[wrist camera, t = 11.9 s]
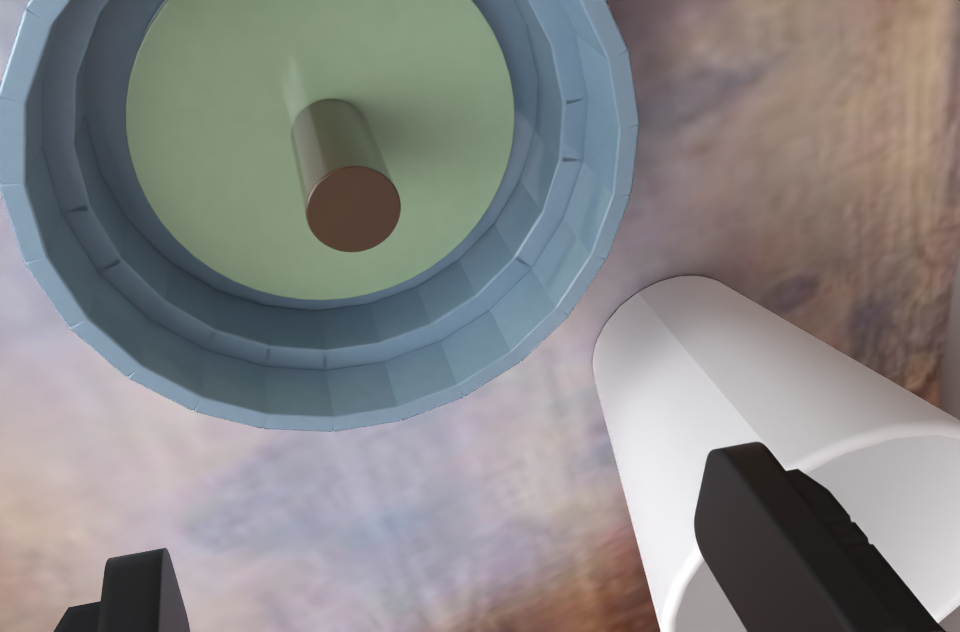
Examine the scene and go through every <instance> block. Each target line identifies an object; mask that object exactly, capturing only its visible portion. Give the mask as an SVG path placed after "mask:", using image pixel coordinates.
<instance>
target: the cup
mask: <svg viewBox="0 0 960 632" xmlns="http://www.w3.org/2000/svg"><path fill="white" fill-rule="evenodd" d="M592 363H593V375H594V379H595V383H596V387H597V391H598V395H599V398H600V402H601V406H602V410H603V414H604V417H605V421H606V425H607V429H608V433H609V436H610V440H611V444H612V448H613V452H614V456H615V459H616V463H617V467H618V471H619V475H620V478H621V482H622V486H623V490H624V494H625V497H626V501H627V505H628V509H629V513H630V516H631V520H632V524H633V528H634V532H635V535H636V539H637V543H638V547H639V551H640V554H641V558H642V562H643V566H644V570H645V573H646V577H647V581H648V585H649V589H650V592H651V596H652V600H653V604H654V608H655V611H656V615H657V619H658V623H659V627H660V630H661V632H747V630H746V629H745V627H744V625H743V624H742V622H741V620H740V619H739V617H738V615H737V614H736V612H735V610H734V609H733V607H732V605H731V604H730V602H729V600H728V599H727V597H726V595H725V594H724V592H723V590H722V589H721V587H720V585H719V583H718V582H717V580H716V578H715V577H714V575H713V573H712V572H711V570H710V568H709V567H708V565H707V563H706V562H705V560H704V558H703V556H702V555H701V552H700V550H699V547H698V544H697V541H696V537H695V531H694V516H695V511H696V506H697V501H698V497H699V492H700V487H701V482H702V478H703V473H704V468H705V464H706V459H707V456H708V454H709V452H710V451H711V450H713V449H718V448H723V447H729V446H734V445H740V444H745V443H751V442H761V443H763V444H764V445H765V446H766V447H767V448H768V449H769V450H770V451H771V452H772V454H773V455H774V456H775V458H776V459H777V460H778V461H779V463H780V464H781V465H782V467H783V468H784V469H785V470H786V471H788V470H794V469H799V470H800V471H802V472H803V473H805V474H806V475H808V476H809V477H811V478H812V479H814V480H815V481H816V482H818V483H819V484H821V485H822V486H824V487H825V488H827V489H828V490H829V491H830V492H831V493H832V495H833V496H834V497H835V498H836V499H837V501H838V502H839V503H840V504H841V506H842V507H843V508H844V509H845V510H846V512H847V513H848V514H849V515H850V519H851V521H852V522H855V523H856V524H857V525H858V526H859V528H860V529H861V530H862V531H863V532H864V534H865V535H866V536H867V537H868V542H869V543H870V544H873V545H874V546H875V547H876V548H877V550H878V551H879V552H880V553H881V555H882V556H883V557H884V558H885V559H886V561H887V562H888V563H889V564H890V566H891V567H892V568H893V569H894V570H895V572H896V573H897V574H898V575H899V577H900V578H901V579H902V580H903V581H904V583H905V584H906V585H907V586H908V588H909V589H910V590H911V591H912V592H913V594H914V595H915V596H916V597H917V599H918V600H919V601H920V602H921V604H922V605H923V606H924V607H925V608H926V610H927V611H928V612H929V613H930V615H931V616H932V617H933V618H934V619H935V621H936V622H937V623H939V622H940V621H941V620H943V619H944V618H945V617H946V616H947V615H948V614H950V613H951V612H952V611H953V610H954V609H956V608H957V607H958V606H959V605H960V420H958V419H956V418H954V417H953V416H951V415H949V414H947V413H946V412H944V411H942V410H940V409H939V408H937V407H935V406H934V405H932V404H930V403H928V402H927V401H925V400H923V399H921V398H920V397H918V396H916V395H914V394H913V393H911V392H909V391H908V390H906V389H904V388H902V387H901V386H899V385H897V384H895V383H894V382H892V381H890V380H889V379H887V378H885V377H883V376H882V375H880V374H878V373H876V372H875V371H873V370H871V369H869V368H868V367H866V366H864V365H863V364H861V363H859V362H857V361H856V360H854V359H852V358H850V357H849V356H847V355H845V354H843V353H842V352H840V351H838V350H837V349H835V348H833V347H831V346H830V345H828V344H826V343H824V342H823V341H821V340H819V339H818V338H816V337H814V336H812V335H811V334H809V333H807V332H805V331H804V330H802V329H800V328H798V327H797V326H795V325H793V324H792V323H790V322H788V321H786V320H785V319H783V318H781V317H779V316H778V315H776V314H774V313H772V312H771V311H769V310H767V309H766V308H764V307H762V306H760V305H759V304H757V303H755V302H753V301H752V300H750V299H748V298H747V297H745V296H743V295H741V294H740V293H738V292H736V291H734V290H733V289H731V288H729V287H727V286H726V285H724V284H722V283H721V282H719V281H717V280H714V279H710V278H706V277H702V276H678V277H674V278H671V279H667V280H663V281H660V282H657V283H655V284H653V285H651V286H649V287H647V288H645V289H643V290H641V291H639V292H637V293H636V294H635V295H634V296H632V297H631V298H630V299H629V300H627V301H626V302H625V303H624V304H622V305H621V306H620V307H619V308H618V309H617V310H616V312H615V313H614V314H613V315H612V316H611V318H610V319H609V320H608V321H607V322H606V324H605V325H604V327H603V329H602V331H601V333H600V335H599V337H598V339H597V341H596V345H595V349H594V354H593V358H592Z"/></svg>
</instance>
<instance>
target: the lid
mask: <svg viewBox="0 0 960 632" xmlns="http://www.w3.org/2000/svg"><path fill="white" fill-rule="evenodd" d="M514 121H515V118H514V96H513V90H512V84H511V78H510V73H509V70H508V67H507V63H506V60H505V57H504V54H503V51H502V49H501V47H500V44H499V42H498V40H497V38H496V36H495V34H494V32H493V29H492V28H491V26H490V25H489V23H488V22H487V20H486V18H485V17H484V15H483V14H482V12H481V11H480V9H479V8H478V7H477V5H476V4H475V3H474V2H473V1H472V0H164V2H163V3H162V5H161V6H160V8H159V9H158V11H157V12H156V14H155V15H154V17H153V18H152V20H151V21H150V23H149V24H148V27H147V29H146V31H145V33H144V35H143V37H142V39H141V41H140V44H139V46H138V48H137V51H136V55H135V58H134V61H133V65H132V68H131V71H130V75H129V81H128V88H127V95H126V102H125V130H126V136H127V142H128V149H129V155H130V158H131V161H132V165H133V168H134V171H135V175H136V178H137V180H138V182H139V185H140V187H141V189H142V191H143V193H144V195H145V197H146V200H147V201H148V203H149V205H150V206H151V208H152V209H153V211H154V212H155V214H156V215H157V217H158V219H159V220H160V222H161V223H162V224H163V225H164V226H165V228H166V229H167V230H168V231H169V232H170V233H171V235H172V236H173V237H174V238H175V239H176V240H177V241H178V242H179V243H180V244H181V245H182V246H183V247H184V248H185V249H186V250H188V251H189V252H190V253H191V254H192V255H193V256H194V257H196V258H197V259H198V260H200V261H201V262H203V263H204V264H205V265H207V266H208V267H210V268H211V269H213V270H214V271H216V272H218V273H220V274H221V275H223V276H225V277H227V278H229V279H231V280H233V281H234V282H237V283H240V284H242V285H245V286H247V287H250V288H252V289H255V290H258V291H262V292H265V293H269V294H273V295H276V296H282V297H288V298H295V299H304V300H333V299H346V298H352V297H357V296H363V295H368V294H371V293H375V292H378V291H381V290H385V289H388V288H391V287H393V286H395V285H398V284H400V283H402V282H405V281H407V280H409V279H411V278H413V277H415V276H417V275H418V274H420V273H422V272H424V271H425V270H427V269H429V268H430V267H432V266H433V265H435V264H436V263H437V262H439V261H440V260H441V259H443V258H444V257H446V256H447V255H448V254H449V253H450V252H451V251H452V250H453V249H455V248H456V247H457V246H458V245H459V244H460V243H461V242H462V241H463V240H464V239H465V238H466V237H467V236H468V234H469V233H470V232H471V231H472V230H473V229H474V227H475V226H476V225H477V224H478V222H479V221H480V219H481V218H482V216H483V215H484V214H485V212H486V211H487V209H488V208H489V206H490V204H491V202H492V200H493V198H494V196H495V194H496V193H497V191H498V189H499V187H500V184H501V181H502V179H503V176H504V173H505V170H506V168H507V165H508V160H509V156H510V152H511V147H512V142H513V132H514Z"/></svg>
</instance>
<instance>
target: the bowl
mask: <svg viewBox="0 0 960 632" xmlns="http://www.w3.org/2000/svg"><path fill="white" fill-rule="evenodd" d="M472 1H473V2H474V3H475V4H476V5H477V7H478V8H479V9H480V11H481V12H482V14H483V15H484V17H485V18H486V20H487V22H488V23H489V25H490V26H491V28H492V29H493V32H494V34H495V36H496V38H497V40H498V42H499V44H500V47H501V49H502V51H503V54H504V57H505V60H506V63H507V67H508V70H509V73H510V78H511V84H512V90H513V96H514V118H515V121H514V132H513V142H512V147H511V152H510V156H509V160H508V165H507V168H506V170H505V173H504V176H503V179H502V181H501V184H500V187H499V189H498V191H497V193H496V194H495V196H494V198H493V200H492V202H491V204H490V206H489V208H488V209H487V211H486V212H485V214H484V215H483V216H482V218H481V219H480V221H479V222H478V224H477V225H476V226H475V227H474V229H473V230H472V231H471V232H470V233H469V234H468V236H467V237H466V238H465V239H464V240H463V241H462V242H461V243H460V244H459V245H458V246H457V247H456V248H455V249H453V250H452V251H451V252H450V253H449V254H448V255H447V256H446V257H444V258H443V259H441V260H440V261H439V262H437V263H436V264H435V265H433V266H432V267H430V268H429V269H427V270H425V271H424V272H422V273H420V274H418V275H417V276H415V277H413V278H411V279H409V280H407V281H405V282H402V283H400V284H398V285H395V286H393V287H391V288H388V289H385V290H381V291H378V292H375V293H371V294H368V295H363V296H357V297H352V298H346V299H333V300H304V299H295V298H288V297H282V296H276V295H273V294H269V293H265V292H262V291H258V290H255V289H252V288H250V287H247V286H245V285H242V284H240V283H237V282H234V281H233V280H231V279H229V278H227V277H225V276H223V275H221V274H220V273H218V272H216V271H214V270H213V269H211V268H210V267H208V266H207V265H205V264H204V263H203V262H201V261H200V260H198V259H197V258H196V257H194V256H193V255H192V254H191V253H190V252H189V251H188V250H186V249H185V248H184V247H183V246H182V245H181V244H180V243H179V242H178V241H177V240H176V239H175V238H174V237H173V236H172V235H171V233H170V232H169V231H168V230H167V229H166V228H165V226H164V225H163V224H162V223H161V222H160V220H159V219H158V217H157V215H156V214H155V212H154V211H153V209H152V208H151V206H150V205H149V203H148V201H147V200H146V197H145V195H144V193H143V191H142V189H141V187H140V185H139V182H138V180H137V178H136V175H135V171H134V168H133V165H132V161H131V158H130V155H129V149H128V142H127V136H126V130H125V102H126V95H127V88H128V81H129V75H130V71H131V68H132V65H133V61H134V58H135V55H136V51H137V48H138V46H139V44H140V41H141V39H142V37H143V35H144V33H145V31H146V29H147V27H148V24H149V23H150V21H151V20H152V18H153V17H154V15H155V14H156V12H157V11H158V9H159V8H160V6H161V5H162V3H163V2H164V0H30V1H29V2H28V4H27V5H26V8H25V10H24V12H23V15H22V18H21V21H20V25H19V28H18V31H17V34H16V37H15V40H14V43H13V46H12V50H11V53H10V56H9V59H8V62H7V65H6V68H5V71H4V75H3V78H2V81H1V84H0V191H1V194H2V197H3V200H4V203H5V206H6V209H7V213H8V216H9V219H10V222H11V225H12V228H13V231H14V234H15V237H16V240H17V243H18V246H19V249H20V252H21V255H22V258H23V260H24V261H25V264H26V266H27V267H28V269H29V270H30V272H31V273H32V275H33V276H34V278H35V279H36V280H37V282H38V283H39V285H40V286H41V288H42V289H43V291H44V292H45V294H46V295H47V296H48V298H49V299H50V301H51V302H52V304H53V305H54V307H55V308H56V310H57V311H58V313H59V314H60V315H61V317H62V318H63V320H64V321H65V323H66V324H67V326H69V327H70V329H71V330H72V331H73V332H74V333H76V334H77V335H78V336H79V337H80V338H81V339H83V340H84V341H85V342H86V343H87V344H88V345H90V346H91V347H92V348H93V349H94V350H95V351H97V352H98V353H99V354H100V355H101V356H102V357H104V358H105V359H106V360H107V361H108V362H109V363H111V364H112V365H113V366H114V367H115V368H116V369H118V370H119V371H120V372H121V373H122V374H123V375H125V376H126V377H128V378H129V379H131V380H133V381H135V382H137V383H139V384H141V385H143V386H145V387H146V388H148V389H150V390H152V391H154V392H156V393H158V394H160V395H162V396H164V397H166V398H168V399H170V400H172V401H174V402H176V403H178V404H180V405H182V406H184V407H186V408H188V409H190V410H194V411H195V412H198V413H202V414H206V415H210V416H214V417H218V418H222V419H226V420H230V421H233V422H237V423H241V424H245V425H249V426H253V427H257V428H264V429H278V430H303V431H328V432H331V431H341V430H347V429H353V428H359V427H366V426H372V425H378V424H384V423H390V422H396V421H400V419H401V420H404V419H407V418H410V417H413V416H415V415H418V414H421V413H423V412H426V411H429V410H431V409H434V408H437V407H439V406H442V405H445V404H447V403H450V402H453V401H455V400H458V399H461V398H463V396H467V395H468V394H470V393H471V392H473V391H475V390H476V389H478V388H479V387H481V386H483V385H484V384H486V383H487V382H489V381H491V380H492V379H494V378H495V377H497V376H499V375H500V374H502V373H503V372H505V371H507V370H508V369H510V368H511V367H513V366H515V365H516V364H518V363H519V362H520V361H522V360H524V359H525V358H526V357H527V356H528V355H529V354H530V353H531V352H532V351H533V350H534V349H535V348H536V347H537V346H538V345H539V344H540V343H541V342H542V341H543V340H544V339H545V338H547V337H548V336H549V335H550V334H551V333H552V332H553V331H554V330H555V329H556V328H557V327H558V326H559V325H560V324H561V323H562V322H563V321H564V320H565V319H566V318H567V317H568V316H569V315H568V314H570V313H571V312H572V310H573V309H574V307H575V306H576V304H577V303H578V301H579V300H580V298H581V297H582V295H583V294H584V292H585V291H586V290H587V288H588V287H589V285H590V284H591V282H592V281H593V279H594V278H595V276H596V275H597V273H598V272H599V270H600V269H601V267H602V266H603V264H604V263H605V261H606V259H605V258H607V257H608V255H609V252H610V249H611V247H612V244H613V241H614V239H615V236H616V233H617V231H618V228H619V225H620V223H621V220H622V217H623V215H624V212H625V210H626V207H627V204H628V202H629V199H630V194H631V191H632V182H633V174H634V165H635V156H636V147H637V139H638V130H639V125H638V124H639V118H638V111H637V104H636V98H635V91H634V84H633V77H632V71H631V64H630V57H629V51H628V50H627V46H626V44H625V42H624V39H623V37H622V35H621V33H620V30H619V28H618V26H617V24H616V22H615V19H614V17H613V15H612V13H611V10H610V8H609V6H608V4H607V2H606V0H472Z"/></svg>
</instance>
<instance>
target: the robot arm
mask: <svg viewBox="0 0 960 632" xmlns="http://www.w3.org/2000/svg"><path fill="white" fill-rule="evenodd" d="M694 531H695V537H696V541H697V544H698V547H699V550H700V552H701V555H702V556H703V558H704V560H705V562H706V563H707V565H708V567H709V568H710V570H711V572H712V573H713V575H714V577H715V578H716V580H717V582H718V583H719V585H720V587H721V589H722V590H723V592H724V594H725V595H726V597H727V599H728V600H729V602H730V604H731V605H732V607H733V609H734V610H735V612H736V614H737V615H738V617H739V619H740V620H741V622H742V624H743V625H744V627H745V629H746V630H747V632H946V631H945V630H943V628H942V627H941V626H940V625H939V624H938V623H937V622H936V621H935V619H934V618H933V617H932V616H931V615H930V613H929V612H928V611H927V610H926V608H925V607H924V606H923V605H922V604H921V602H920V601H919V600H918V599H917V597H916V596H915V595H914V594H913V592H912V591H911V590H910V589H909V588H908V586H907V585H906V584H905V583H904V581H903V580H902V579H901V578H900V577H899V575H898V574H897V573H896V572H895V570H894V569H893V568H892V567H891V566H890V564H889V563H888V562H887V561H886V559H885V558H884V557H883V556H882V555H881V553H880V552H879V551H878V550H877V548H876V547H875V546H874V545H873V544H870V543H869V542H868V537H867V536H866V535H865V534H864V532H863V531H862V530H861V529H860V528H859V526H858V525H857V524H856V523H855V522H852V521H851V519H850V515H849V514H848V513H847V512H846V510H845V509H844V508H843V507H842V506H841V504H840V503H839V502H838V501H837V499H836V498H835V497H834V496H833V495H832V493H831V492H830V491H829V490H828V489H827V488H825V487H824V486H822V485H821V484H819V483H818V482H816V481H815V480H814V479H812V478H811V477H809V476H808V475H806V474H805V473H803V472H802V471H800V470H799V469H794V470H788V471H786V470H785V469H784V468H783V467H782V465H781V464H780V463H779V461H778V460H777V459H776V458H775V456H774V455H773V454H772V452H771V451H770V450H769V449H768V448H767V447H766V446H765V445H764V444H763V443H761V442H751V443H745V444H740V445H734V446H729V447H723V448H718V449H713V450H711V451H710V452H709V454H708V456H707V459H706V464H705V468H704V473H703V478H702V482H701V487H700V492H699V497H698V501H697V506H696V511H695V516H694ZM54 632H190V628H189V622H188V618H187V614H186V610H185V607H184V603H183V600H182V596H181V593H180V589H179V586H178V582H177V579H176V575H175V572H174V568H173V565H172V561H171V558H170V554H169V552H168V550H167V549H166V548H163V549H157V550H152V551H146V552H141V553H135V554H130V555H124V556H119V557H113V558H109V559H108V560H107V562H106V566H105V571H104V579H103V587H102V596H101V601H100V602H95V603H89V604H84V605H79V606H74V607H69V608H68V609H67V611H66V612H65V614H64V616H63V617H62V619H61V620H60V622H59V624H58V625H57V627H56V629H55V630H54Z"/></svg>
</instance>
